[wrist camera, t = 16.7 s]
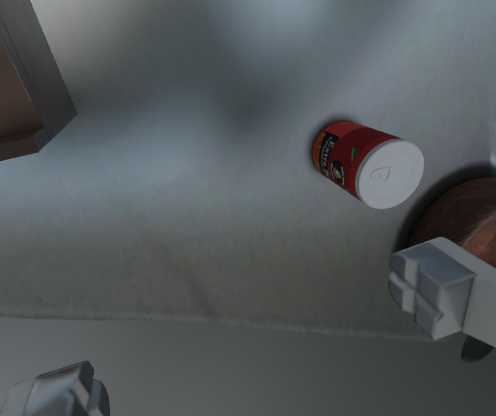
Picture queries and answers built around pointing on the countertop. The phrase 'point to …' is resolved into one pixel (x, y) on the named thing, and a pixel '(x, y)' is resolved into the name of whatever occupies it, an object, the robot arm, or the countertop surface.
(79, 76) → the countertop surface
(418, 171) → the canned food
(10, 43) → the shelf
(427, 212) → the wooden bowl
